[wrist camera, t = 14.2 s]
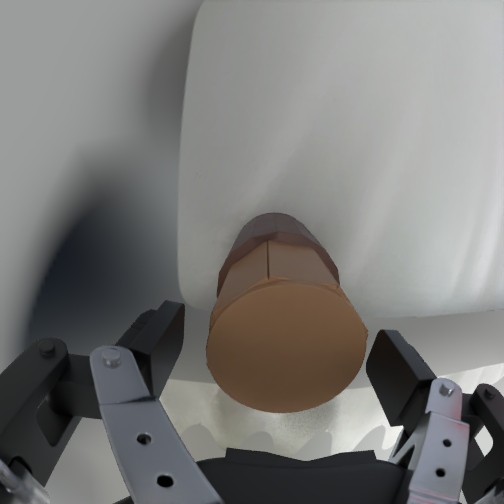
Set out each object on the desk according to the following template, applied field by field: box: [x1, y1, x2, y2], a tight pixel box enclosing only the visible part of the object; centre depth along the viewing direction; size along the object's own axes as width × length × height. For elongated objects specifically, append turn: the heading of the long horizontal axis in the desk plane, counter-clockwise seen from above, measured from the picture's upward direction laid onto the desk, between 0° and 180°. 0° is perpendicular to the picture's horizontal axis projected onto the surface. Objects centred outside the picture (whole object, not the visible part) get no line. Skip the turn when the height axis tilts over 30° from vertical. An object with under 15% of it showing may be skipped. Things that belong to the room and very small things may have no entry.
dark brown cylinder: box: [217, 213, 340, 299], centre depth 18 cm, size 7×7×14 cm
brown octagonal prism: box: [206, 241, 368, 413], centre depth 12 cm, size 6×6×6 cm
